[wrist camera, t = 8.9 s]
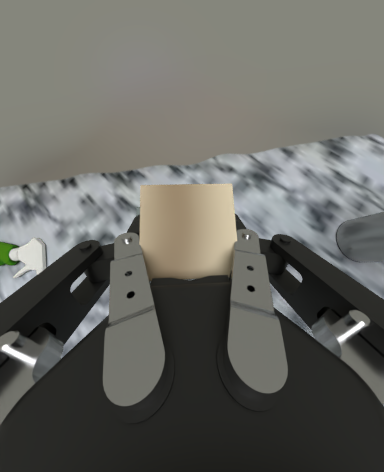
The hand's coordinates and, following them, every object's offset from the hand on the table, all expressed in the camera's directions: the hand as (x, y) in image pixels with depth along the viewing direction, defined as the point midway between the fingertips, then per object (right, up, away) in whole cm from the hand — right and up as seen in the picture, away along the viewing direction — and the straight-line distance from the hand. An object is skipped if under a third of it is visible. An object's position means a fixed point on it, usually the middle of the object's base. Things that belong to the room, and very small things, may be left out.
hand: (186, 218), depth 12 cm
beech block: (0, -3, +4) cm, 5 cm away
